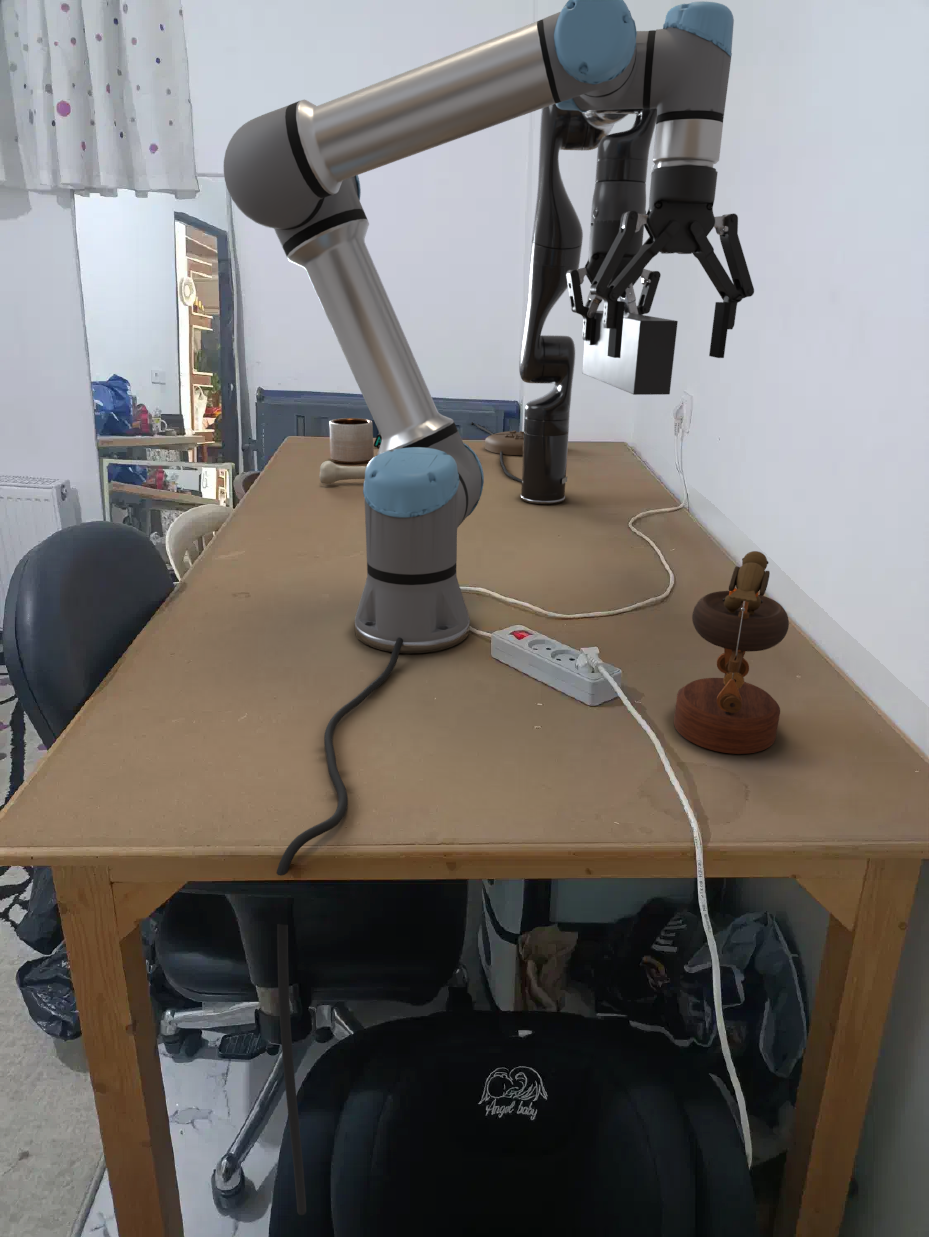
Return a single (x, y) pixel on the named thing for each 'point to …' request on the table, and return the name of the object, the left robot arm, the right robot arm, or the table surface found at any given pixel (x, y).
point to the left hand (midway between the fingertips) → (665, 357)
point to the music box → (734, 665)
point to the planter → (351, 440)
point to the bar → (634, 355)
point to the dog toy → (340, 472)
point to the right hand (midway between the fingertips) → (607, 344)
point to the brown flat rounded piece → (506, 443)
